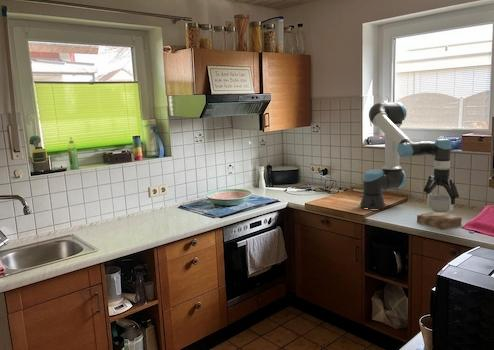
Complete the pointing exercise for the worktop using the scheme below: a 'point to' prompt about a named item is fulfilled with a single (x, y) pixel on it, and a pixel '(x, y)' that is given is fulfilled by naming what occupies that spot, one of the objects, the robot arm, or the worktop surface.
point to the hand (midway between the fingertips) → (439, 207)
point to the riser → (439, 220)
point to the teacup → (439, 203)
